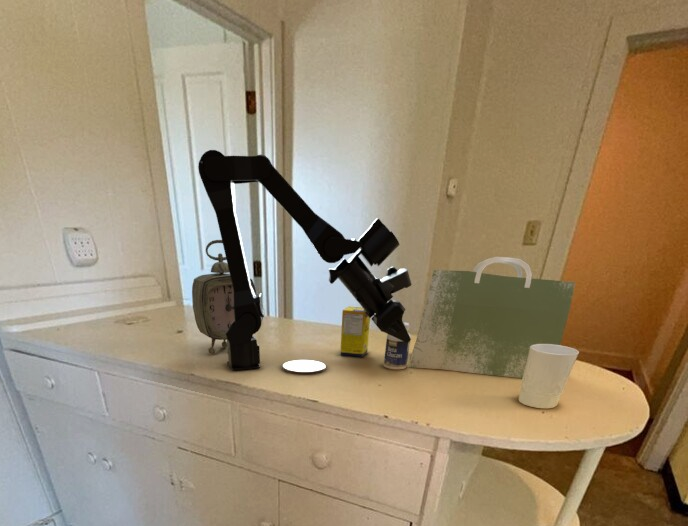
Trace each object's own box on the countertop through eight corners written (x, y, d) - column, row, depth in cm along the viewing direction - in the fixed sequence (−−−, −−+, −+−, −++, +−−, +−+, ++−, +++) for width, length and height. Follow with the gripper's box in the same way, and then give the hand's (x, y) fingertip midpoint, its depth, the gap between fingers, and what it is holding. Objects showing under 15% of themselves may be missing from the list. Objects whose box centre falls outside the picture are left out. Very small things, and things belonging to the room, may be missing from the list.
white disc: (291, 376, 94) (291, 373, 93) (277, 364, 101) (277, 361, 101) (332, 372, 97) (332, 369, 96) (315, 360, 105) (315, 358, 104)
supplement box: (367, 352, 112) (371, 307, 106) (362, 357, 107) (366, 311, 101) (345, 350, 114) (348, 305, 108) (339, 355, 109) (342, 309, 103)
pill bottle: (382, 369, 99) (387, 324, 94) (384, 362, 104) (389, 320, 98) (406, 370, 98) (412, 326, 93) (407, 364, 103) (413, 321, 97)
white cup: (507, 395, 84) (521, 343, 79) (545, 395, 85) (561, 343, 80) (528, 410, 78) (545, 354, 72) (568, 409, 78) (589, 354, 73)
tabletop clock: (207, 356, 107) (194, 240, 93) (195, 348, 113) (182, 239, 100) (259, 349, 113) (254, 240, 99) (245, 342, 119) (239, 239, 106)
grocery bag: (544, 364, 104) (578, 256, 91) (555, 381, 93) (596, 260, 80) (411, 353, 111) (426, 251, 99) (407, 367, 100) (423, 255, 88)
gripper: (401, 256, 80) (447, 319, 87) (382, 251, 96) (423, 304, 102) (356, 301, 84) (403, 358, 91) (345, 289, 100) (386, 338, 106)
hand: (405, 337), depth 97 cm, fingers open, 7 cm apart
